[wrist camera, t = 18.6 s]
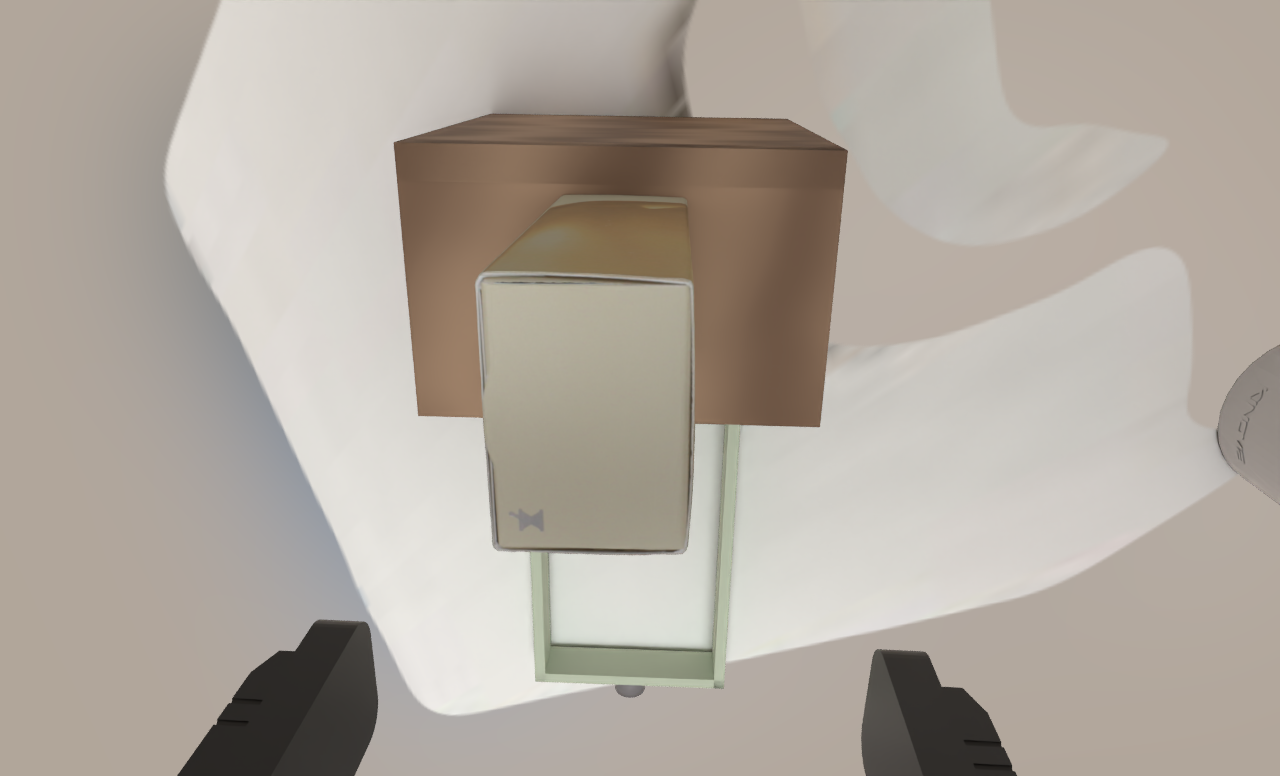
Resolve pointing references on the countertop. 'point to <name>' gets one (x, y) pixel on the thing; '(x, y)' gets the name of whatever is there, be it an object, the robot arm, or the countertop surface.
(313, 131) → the countertop surface
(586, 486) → the skincare box
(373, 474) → the countertop surface
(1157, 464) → the countertop surface
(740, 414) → the walnut shelf
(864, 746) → the robot arm
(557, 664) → the sliding drawer
